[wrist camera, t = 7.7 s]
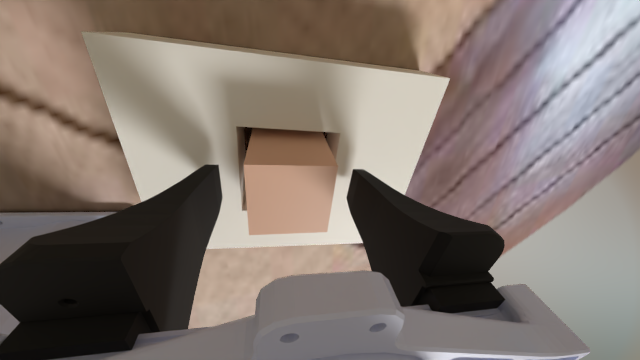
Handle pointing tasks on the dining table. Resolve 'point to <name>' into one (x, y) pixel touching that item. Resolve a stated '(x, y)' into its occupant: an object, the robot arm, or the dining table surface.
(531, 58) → the dining table surface
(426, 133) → the jig block
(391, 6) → the dining table surface
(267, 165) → the tan rectangular block
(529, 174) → the dining table surface
